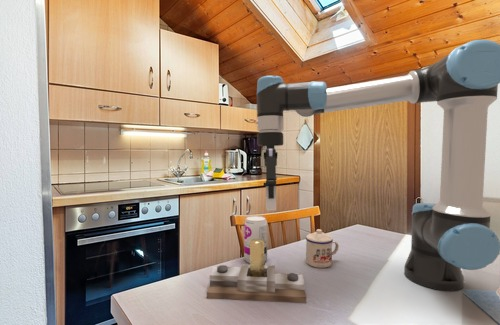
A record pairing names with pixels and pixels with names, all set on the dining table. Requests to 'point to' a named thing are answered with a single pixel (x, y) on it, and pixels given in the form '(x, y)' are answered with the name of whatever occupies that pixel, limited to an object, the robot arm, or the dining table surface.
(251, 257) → the brass pin
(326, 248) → the teacup with lid
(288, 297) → the pin insertion fixture
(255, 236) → the supplement can
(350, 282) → the dining table surface
